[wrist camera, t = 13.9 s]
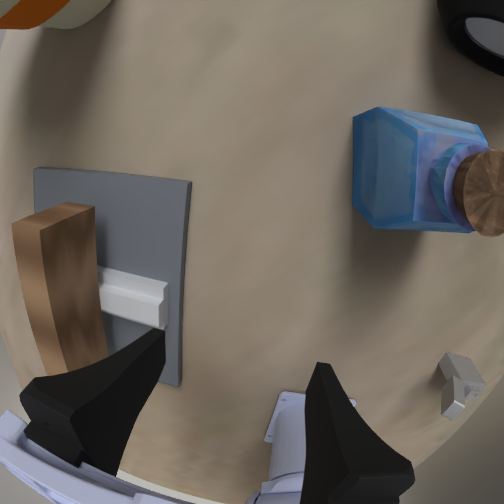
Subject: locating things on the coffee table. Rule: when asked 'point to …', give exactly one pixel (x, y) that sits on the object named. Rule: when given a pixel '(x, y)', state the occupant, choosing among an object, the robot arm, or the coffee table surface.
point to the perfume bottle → (426, 173)
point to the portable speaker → (476, 30)
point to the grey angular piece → (458, 384)
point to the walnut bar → (61, 285)
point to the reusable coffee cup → (48, 13)
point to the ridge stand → (132, 250)
